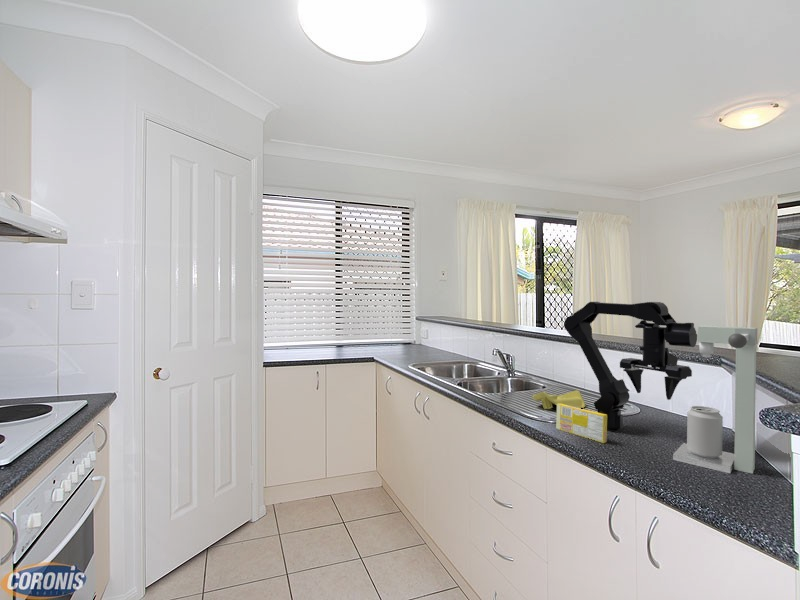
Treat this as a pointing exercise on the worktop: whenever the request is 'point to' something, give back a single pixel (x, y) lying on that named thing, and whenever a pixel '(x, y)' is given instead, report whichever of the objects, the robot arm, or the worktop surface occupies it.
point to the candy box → (582, 422)
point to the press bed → (705, 459)
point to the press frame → (738, 385)
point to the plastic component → (560, 399)
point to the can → (704, 431)
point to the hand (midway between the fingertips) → (653, 396)
